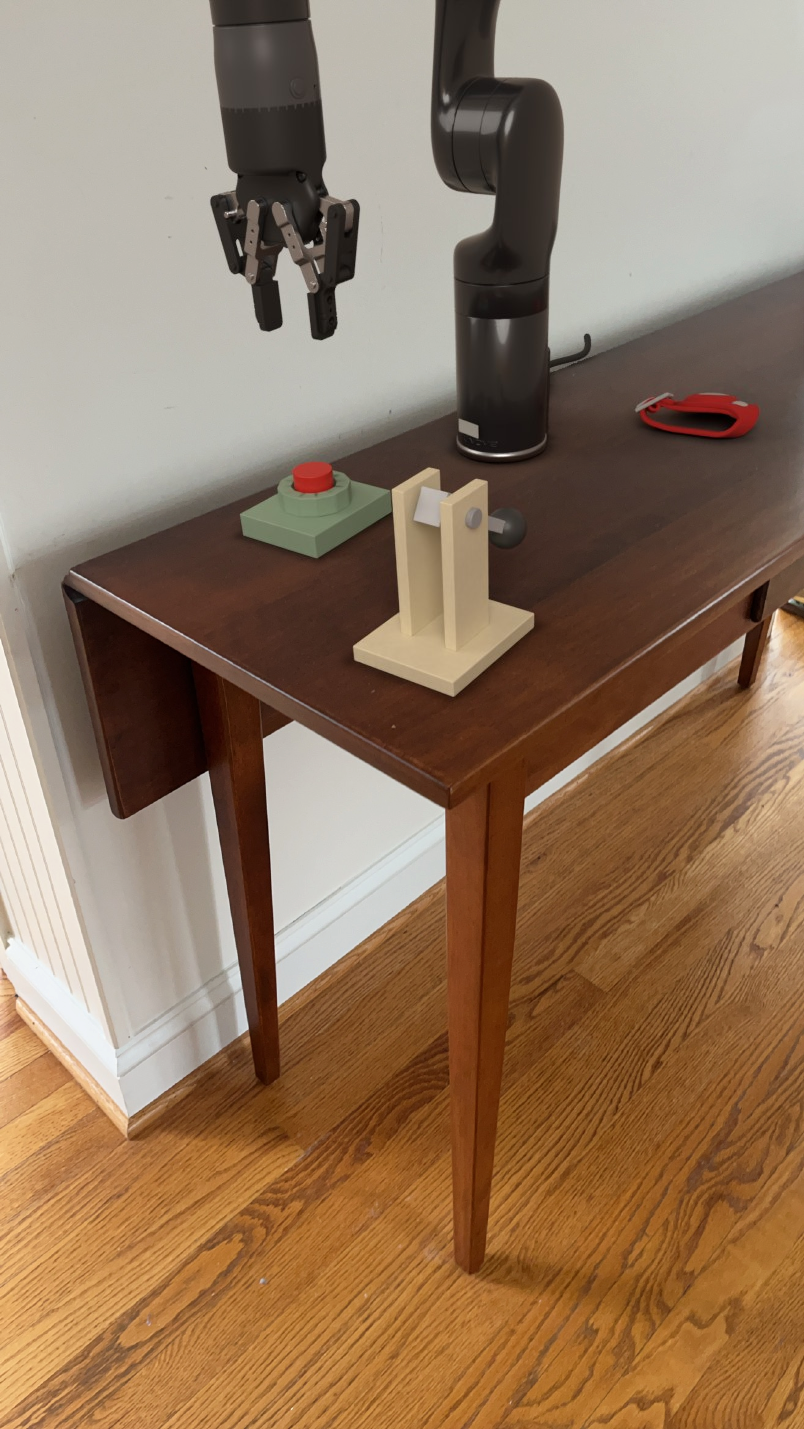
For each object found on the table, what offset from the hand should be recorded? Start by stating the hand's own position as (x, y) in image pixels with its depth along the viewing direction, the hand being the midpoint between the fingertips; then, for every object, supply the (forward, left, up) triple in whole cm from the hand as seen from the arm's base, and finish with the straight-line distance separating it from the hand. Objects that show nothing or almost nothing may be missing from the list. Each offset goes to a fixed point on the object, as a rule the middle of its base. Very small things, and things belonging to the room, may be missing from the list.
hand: (296, 332), depth 85 cm
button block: (0, 0, -17) cm, 17 cm away
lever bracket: (+11, +22, -17) cm, 30 cm away
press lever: (+7, +22, -10) cm, 25 cm away
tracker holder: (-39, +20, -18) cm, 47 cm away
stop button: (0, 0, -14) cm, 14 cm away
